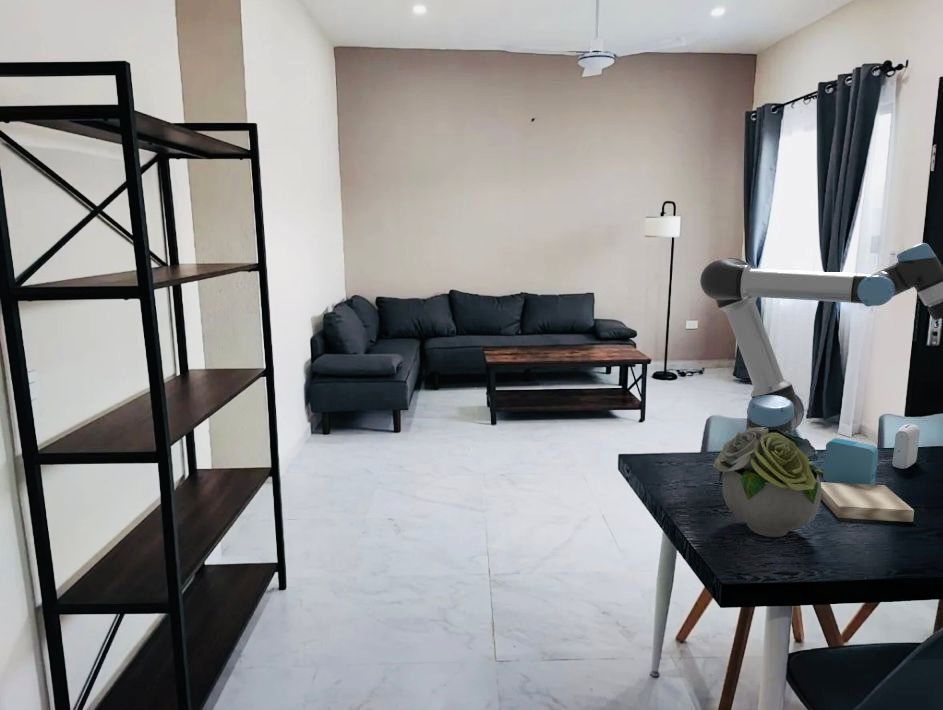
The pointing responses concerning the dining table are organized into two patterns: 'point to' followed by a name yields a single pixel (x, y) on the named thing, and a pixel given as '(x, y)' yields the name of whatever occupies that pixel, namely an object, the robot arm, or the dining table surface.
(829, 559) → the dining table surface
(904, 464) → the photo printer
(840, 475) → the data package
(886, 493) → the birch board
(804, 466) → the flower arrangement
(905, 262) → the robot arm
